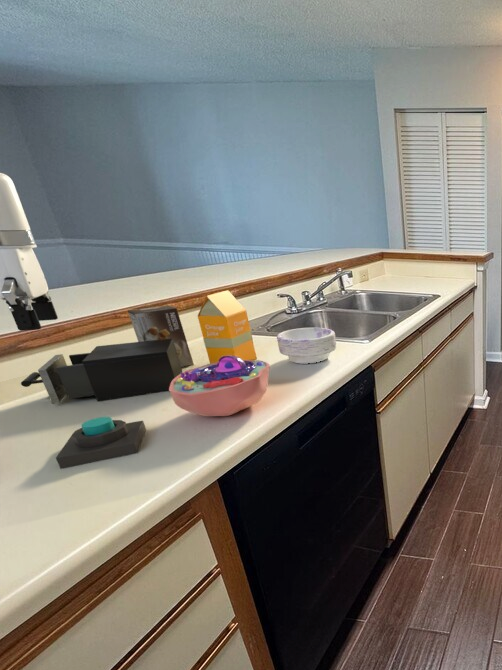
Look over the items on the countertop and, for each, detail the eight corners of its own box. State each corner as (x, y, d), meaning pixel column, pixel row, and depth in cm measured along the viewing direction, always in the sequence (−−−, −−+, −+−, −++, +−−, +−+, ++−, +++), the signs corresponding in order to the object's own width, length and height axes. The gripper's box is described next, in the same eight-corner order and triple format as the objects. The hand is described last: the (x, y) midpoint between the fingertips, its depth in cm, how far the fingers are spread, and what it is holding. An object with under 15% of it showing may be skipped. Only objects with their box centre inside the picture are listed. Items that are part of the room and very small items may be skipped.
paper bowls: (347, 352, 130) (343, 327, 127) (321, 369, 116) (317, 341, 113) (300, 349, 132) (296, 325, 129) (269, 366, 118) (264, 338, 115)
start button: (81, 438, 73) (78, 429, 72) (88, 428, 76) (84, 419, 75) (112, 432, 75) (109, 423, 74) (117, 423, 78) (114, 415, 77)
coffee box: (185, 360, 121) (169, 304, 115) (194, 364, 117) (178, 307, 111) (146, 368, 114) (126, 309, 108) (153, 373, 111) (134, 313, 105)
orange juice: (257, 358, 123) (242, 289, 116) (238, 369, 115) (221, 295, 108) (230, 357, 123) (214, 289, 116) (210, 368, 115) (190, 294, 108)
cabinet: (97, 401, 94) (81, 361, 91) (110, 383, 104) (96, 346, 101) (178, 389, 102) (166, 351, 98) (182, 373, 111) (172, 338, 108)
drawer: (24, 407, 89) (8, 373, 86) (43, 389, 98) (29, 357, 95) (133, 391, 98) (121, 359, 95) (141, 376, 107) (131, 346, 104)
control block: (60, 469, 70) (51, 448, 69) (77, 442, 78) (69, 423, 76) (137, 453, 75) (130, 433, 74) (146, 430, 83) (140, 411, 81)
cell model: (154, 427, 84) (136, 374, 80) (229, 389, 102) (218, 344, 98) (230, 434, 82) (216, 380, 78) (294, 394, 100) (285, 348, 96)
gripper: (-1, 237, 88) (31, 318, 95) (-46, 242, 75) (-5, 336, 81) (49, 238, 92) (76, 315, 98) (15, 242, 78) (49, 332, 85)
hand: (39, 324), depth 90 cm, fingers open, 9 cm apart
